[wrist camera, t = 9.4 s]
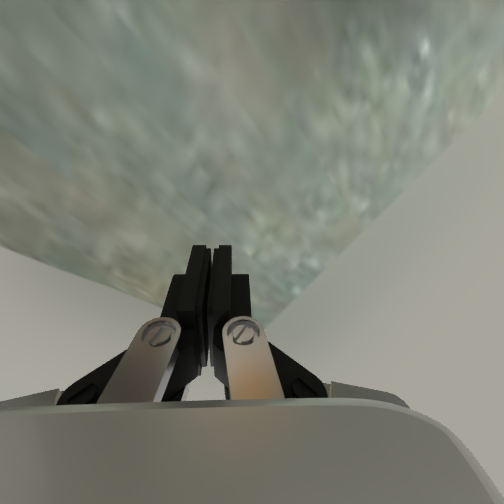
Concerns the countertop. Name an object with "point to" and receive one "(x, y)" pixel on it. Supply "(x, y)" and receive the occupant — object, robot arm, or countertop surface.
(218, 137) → the countertop surface
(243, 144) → the countertop surface
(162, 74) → the countertop surface
